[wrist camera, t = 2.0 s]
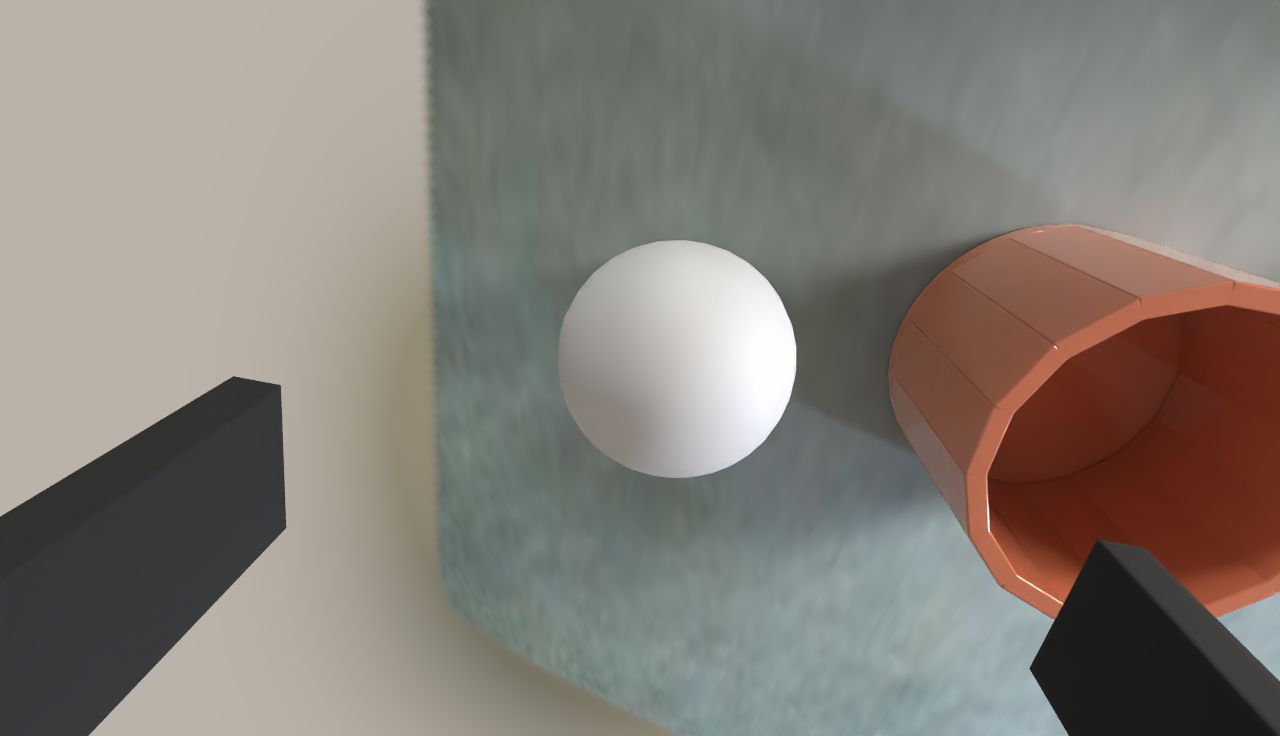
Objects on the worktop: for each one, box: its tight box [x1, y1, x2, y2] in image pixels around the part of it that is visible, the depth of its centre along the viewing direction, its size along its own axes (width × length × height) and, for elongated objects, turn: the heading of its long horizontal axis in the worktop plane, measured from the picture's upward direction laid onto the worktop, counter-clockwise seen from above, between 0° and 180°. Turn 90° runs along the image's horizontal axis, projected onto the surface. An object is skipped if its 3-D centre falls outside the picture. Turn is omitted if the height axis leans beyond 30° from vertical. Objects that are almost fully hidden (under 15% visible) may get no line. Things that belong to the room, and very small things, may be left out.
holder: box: [888, 224, 1280, 619], centre depth 21 cm, size 10×10×8 cm
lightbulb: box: [558, 240, 796, 478], centre depth 20 cm, size 6×6×11 cm
